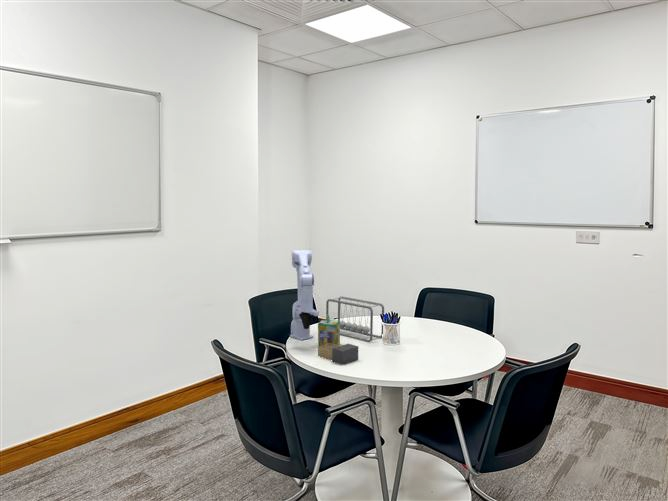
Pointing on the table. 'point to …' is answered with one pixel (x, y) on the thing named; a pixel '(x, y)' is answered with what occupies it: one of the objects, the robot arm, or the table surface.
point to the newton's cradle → (354, 326)
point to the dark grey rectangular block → (345, 354)
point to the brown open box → (326, 350)
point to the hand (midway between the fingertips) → (306, 328)
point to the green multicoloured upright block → (328, 332)
